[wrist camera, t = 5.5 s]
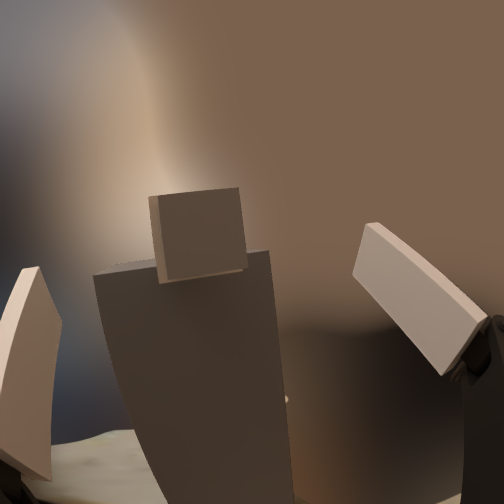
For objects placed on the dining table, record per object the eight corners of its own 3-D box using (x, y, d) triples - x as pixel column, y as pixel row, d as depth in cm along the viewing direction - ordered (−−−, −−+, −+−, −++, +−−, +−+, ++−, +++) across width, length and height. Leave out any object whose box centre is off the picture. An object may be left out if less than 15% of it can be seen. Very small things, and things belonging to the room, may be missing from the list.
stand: (189, 556, 18) (75, 279, 16) (173, 484, 31) (110, 264, 29) (307, 526, 22) (287, 248, 20) (265, 463, 35) (235, 247, 33)
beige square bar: (159, 291, 8) (146, 186, 8) (159, 256, 35) (156, 231, 34) (259, 275, 9) (247, 177, 9) (183, 252, 35) (180, 228, 35)
